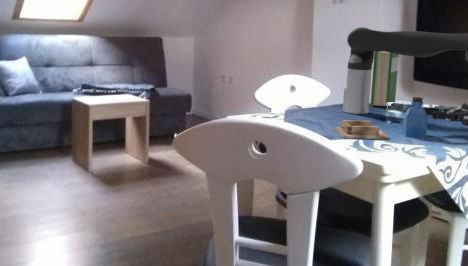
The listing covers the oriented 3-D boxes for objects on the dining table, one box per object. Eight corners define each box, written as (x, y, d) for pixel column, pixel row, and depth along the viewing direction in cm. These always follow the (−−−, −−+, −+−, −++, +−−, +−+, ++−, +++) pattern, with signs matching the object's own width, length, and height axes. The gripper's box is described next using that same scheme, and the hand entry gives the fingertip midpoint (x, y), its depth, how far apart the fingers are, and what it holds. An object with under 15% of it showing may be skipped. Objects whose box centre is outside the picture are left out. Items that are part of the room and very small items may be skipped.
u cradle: (343, 138, 153) (343, 127, 152) (334, 129, 167) (335, 119, 166) (389, 139, 153) (390, 128, 152) (376, 129, 167) (377, 120, 166)
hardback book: (387, 108, 214) (392, 51, 209) (370, 106, 217) (374, 50, 212) (394, 103, 230) (399, 49, 225) (378, 101, 233) (382, 49, 228)
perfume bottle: (426, 137, 156) (429, 99, 154) (405, 136, 157) (408, 98, 155) (422, 133, 162) (426, 96, 160) (402, 132, 163) (406, 95, 161)
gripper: (470, 99, 165) (420, 98, 165) (492, 105, 151) (437, 104, 151) (467, 121, 166) (418, 120, 166) (488, 130, 152) (435, 129, 152)
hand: (427, 112), depth 158 cm, fingers open, 8 cm apart
